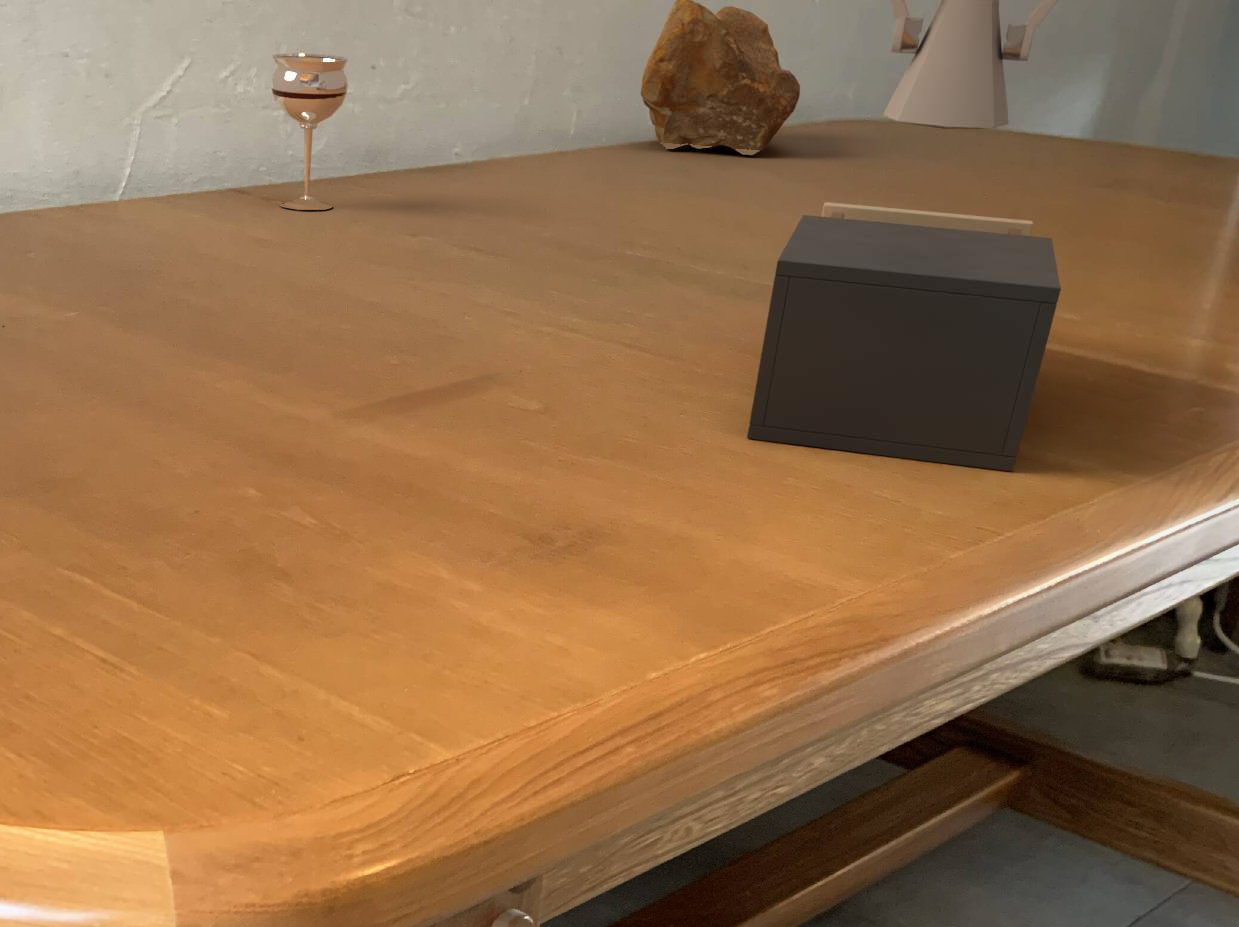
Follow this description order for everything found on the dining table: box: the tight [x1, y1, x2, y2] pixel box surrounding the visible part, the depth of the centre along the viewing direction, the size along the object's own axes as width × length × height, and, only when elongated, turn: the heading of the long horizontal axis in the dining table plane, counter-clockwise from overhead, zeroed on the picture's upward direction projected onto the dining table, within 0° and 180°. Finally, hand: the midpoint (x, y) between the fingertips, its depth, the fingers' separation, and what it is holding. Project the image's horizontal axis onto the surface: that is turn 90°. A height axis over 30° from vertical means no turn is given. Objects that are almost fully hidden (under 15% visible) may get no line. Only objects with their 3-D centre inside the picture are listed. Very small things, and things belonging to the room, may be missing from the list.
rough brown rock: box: [640, 0, 801, 150], centre depth 193 cm, size 23×17×15 cm
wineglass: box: [271, 52, 349, 200], centre depth 151 cm, size 7×7×12 cm
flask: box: [882, 0, 1010, 130], centre depth 98 cm, size 7×7×10 cm
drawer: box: [821, 201, 1034, 236], centre depth 110 cm, size 19×13×8 cm
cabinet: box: [746, 214, 1062, 473], centre depth 98 cm, size 16×15×10 cm
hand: (957, 55), depth 99 cm, fingers closed on flask, 5 cm apart
